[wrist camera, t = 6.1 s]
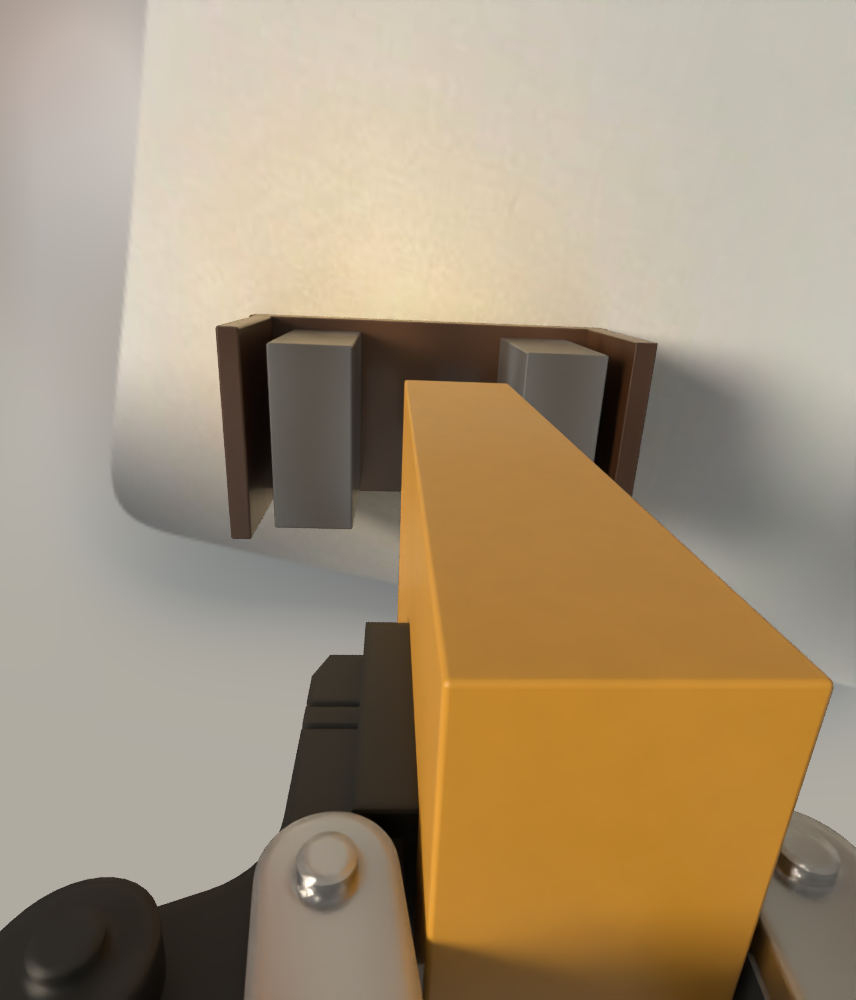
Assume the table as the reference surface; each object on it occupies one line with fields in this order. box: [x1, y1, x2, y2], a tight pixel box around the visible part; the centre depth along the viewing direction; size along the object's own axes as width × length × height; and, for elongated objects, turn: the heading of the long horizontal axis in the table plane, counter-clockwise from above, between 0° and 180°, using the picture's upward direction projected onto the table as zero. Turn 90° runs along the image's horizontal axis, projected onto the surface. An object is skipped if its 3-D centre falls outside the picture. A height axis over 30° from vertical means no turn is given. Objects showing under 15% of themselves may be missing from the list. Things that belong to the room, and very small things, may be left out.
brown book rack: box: [216, 314, 657, 539], centre depth 26 cm, size 16×8×7 cm, turn 88°
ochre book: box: [397, 380, 833, 1000], centre depth 11 cm, size 3×7×12 cm, turn 178°
